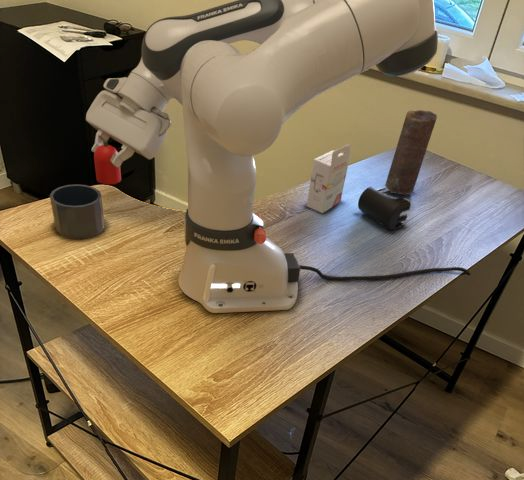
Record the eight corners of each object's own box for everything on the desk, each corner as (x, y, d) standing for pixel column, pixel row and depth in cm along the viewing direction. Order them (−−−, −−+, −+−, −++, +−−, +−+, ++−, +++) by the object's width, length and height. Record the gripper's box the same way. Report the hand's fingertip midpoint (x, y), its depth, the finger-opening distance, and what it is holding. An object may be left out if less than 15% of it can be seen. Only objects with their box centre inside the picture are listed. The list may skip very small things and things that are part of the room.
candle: (414, 200, 136) (440, 120, 122) (386, 197, 135) (409, 116, 122) (409, 187, 141) (433, 109, 128) (382, 184, 141) (403, 105, 128)
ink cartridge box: (323, 195, 132) (335, 136, 122) (340, 202, 130) (353, 143, 120) (304, 206, 127) (315, 145, 117) (322, 214, 125) (334, 152, 115)
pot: (108, 217, 113) (105, 186, 109) (98, 240, 106) (95, 209, 102) (62, 213, 113) (57, 182, 108) (49, 236, 106) (43, 204, 101)
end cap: (354, 215, 126) (360, 188, 122) (374, 209, 130) (381, 182, 125) (384, 234, 121) (392, 207, 116) (405, 227, 124) (413, 201, 120)
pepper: (123, 175, 113) (120, 137, 107) (118, 185, 109) (115, 146, 104) (99, 172, 112) (95, 134, 107) (94, 183, 109) (89, 144, 103)
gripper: (183, 127, 105) (145, 186, 106) (121, 96, 114) (87, 150, 115) (164, 107, 99) (124, 169, 100) (102, 76, 109) (65, 133, 109)
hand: (104, 159), depth 108 cm, fingers closed on pepper, 5 cm apart
